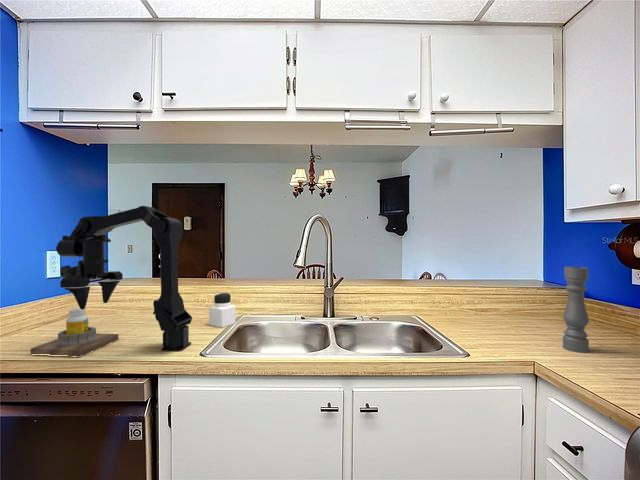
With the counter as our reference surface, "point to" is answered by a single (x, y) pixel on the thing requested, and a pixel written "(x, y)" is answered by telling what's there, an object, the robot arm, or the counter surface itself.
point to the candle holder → (576, 310)
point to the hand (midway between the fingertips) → (94, 305)
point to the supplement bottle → (77, 322)
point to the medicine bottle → (222, 311)
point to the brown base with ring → (75, 343)
